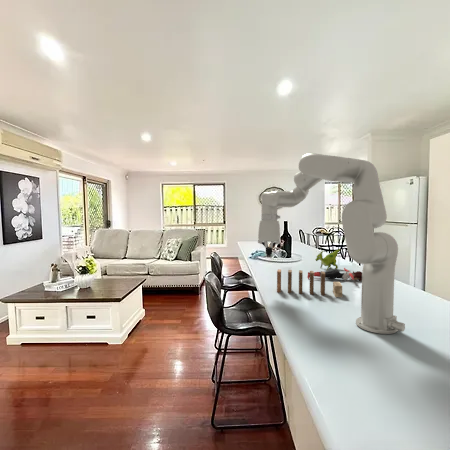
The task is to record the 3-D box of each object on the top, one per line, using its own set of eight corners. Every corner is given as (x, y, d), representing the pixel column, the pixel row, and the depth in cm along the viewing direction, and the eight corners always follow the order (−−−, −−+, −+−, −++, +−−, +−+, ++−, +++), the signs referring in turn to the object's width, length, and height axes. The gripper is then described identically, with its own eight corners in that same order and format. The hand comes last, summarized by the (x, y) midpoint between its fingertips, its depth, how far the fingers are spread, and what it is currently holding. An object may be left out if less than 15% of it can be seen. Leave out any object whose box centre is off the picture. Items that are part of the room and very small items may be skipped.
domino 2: (291, 290, 142) (291, 269, 142) (291, 293, 137) (291, 272, 137) (288, 290, 142) (288, 269, 142) (287, 292, 138) (288, 271, 137)
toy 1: (318, 275, 195) (310, 256, 192) (339, 257, 203) (331, 239, 199) (327, 277, 188) (319, 258, 184) (349, 259, 195) (341, 240, 191)
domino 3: (302, 290, 141) (302, 270, 140) (302, 293, 136) (302, 272, 135) (298, 290, 141) (298, 270, 141) (298, 293, 136) (299, 272, 136)
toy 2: (309, 285, 153) (371, 287, 147) (309, 274, 153) (371, 276, 147) (306, 273, 181) (358, 275, 174) (306, 264, 180) (358, 266, 174)
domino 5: (323, 292, 138) (324, 271, 138) (324, 295, 134) (325, 273, 133) (320, 292, 139) (320, 271, 138) (321, 295, 134) (321, 273, 133)
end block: (339, 292, 138) (339, 281, 138) (342, 297, 130) (342, 286, 130) (333, 292, 139) (333, 281, 139) (335, 296, 131) (335, 285, 131)
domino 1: (281, 289, 143) (281, 269, 143) (280, 292, 138) (280, 271, 138) (277, 289, 144) (277, 269, 143) (277, 292, 139) (277, 271, 138)
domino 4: (313, 291, 140) (313, 270, 139) (313, 294, 135) (313, 273, 134) (309, 291, 140) (309, 270, 139) (309, 294, 135) (310, 273, 135)
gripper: (285, 217, 142) (284, 255, 143) (255, 217, 146) (254, 253, 147) (284, 218, 135) (284, 257, 136) (252, 218, 139) (252, 256, 140)
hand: (268, 255), depth 142 cm, fingers closed
